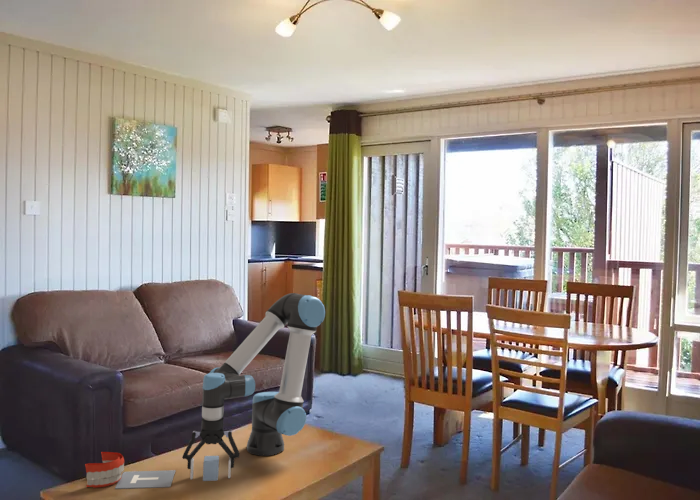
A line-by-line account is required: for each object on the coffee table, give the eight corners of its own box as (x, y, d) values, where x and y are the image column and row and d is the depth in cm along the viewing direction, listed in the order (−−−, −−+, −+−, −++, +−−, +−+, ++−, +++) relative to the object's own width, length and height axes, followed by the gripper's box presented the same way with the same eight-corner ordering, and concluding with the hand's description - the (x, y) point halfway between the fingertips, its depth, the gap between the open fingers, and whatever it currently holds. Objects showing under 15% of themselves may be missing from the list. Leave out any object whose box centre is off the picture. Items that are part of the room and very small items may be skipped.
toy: (114, 489, 196) (114, 465, 196) (84, 488, 197) (84, 465, 197) (130, 474, 209) (130, 452, 209) (102, 473, 209) (102, 451, 209)
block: (218, 474, 212) (218, 455, 212) (217, 480, 207) (218, 460, 207) (204, 475, 212) (204, 456, 211) (202, 480, 207) (203, 461, 206)
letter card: (175, 471, 214) (175, 470, 214) (170, 487, 200) (170, 486, 200) (123, 472, 211) (123, 471, 211) (114, 489, 197) (114, 488, 197)
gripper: (247, 413, 215) (245, 472, 215) (178, 414, 211) (176, 474, 211) (247, 420, 207) (245, 480, 208) (175, 421, 203) (173, 482, 204)
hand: (210, 477), depth 209 cm, fingers open, 12 cm apart
